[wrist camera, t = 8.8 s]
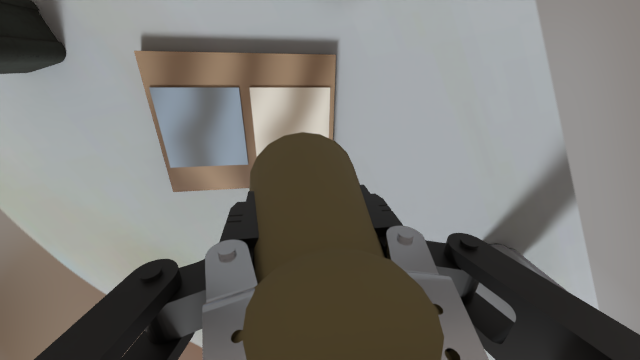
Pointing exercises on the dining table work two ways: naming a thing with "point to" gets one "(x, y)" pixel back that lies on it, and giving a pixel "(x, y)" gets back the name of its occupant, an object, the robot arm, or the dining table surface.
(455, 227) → the dining table surface
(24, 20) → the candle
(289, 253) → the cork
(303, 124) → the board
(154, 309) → the robot arm
